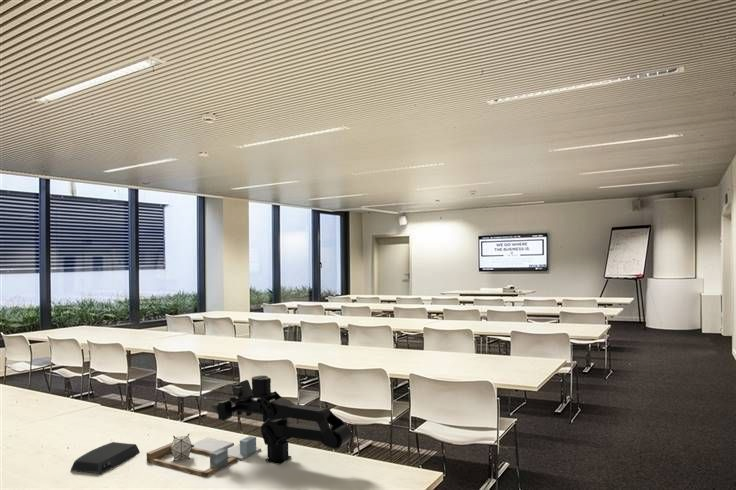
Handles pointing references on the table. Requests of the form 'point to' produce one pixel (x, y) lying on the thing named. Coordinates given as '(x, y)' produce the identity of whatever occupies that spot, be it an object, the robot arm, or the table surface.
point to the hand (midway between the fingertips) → (221, 402)
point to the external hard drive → (104, 458)
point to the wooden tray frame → (217, 457)
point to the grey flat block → (240, 450)
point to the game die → (181, 447)
